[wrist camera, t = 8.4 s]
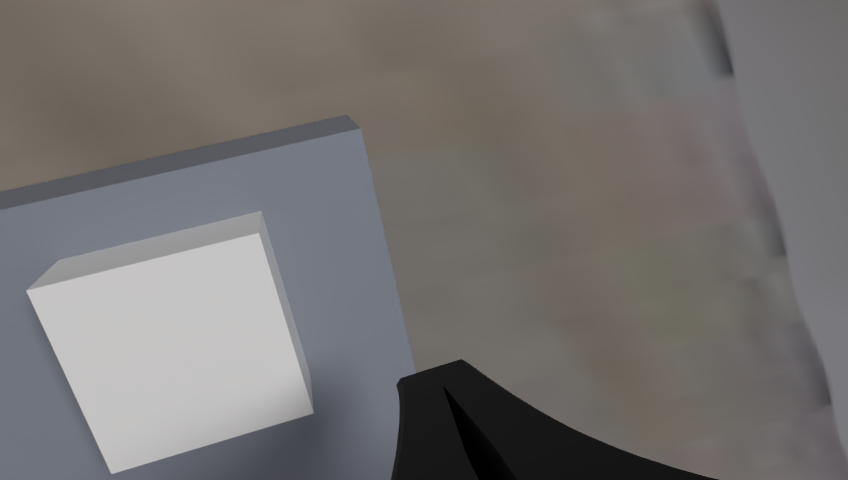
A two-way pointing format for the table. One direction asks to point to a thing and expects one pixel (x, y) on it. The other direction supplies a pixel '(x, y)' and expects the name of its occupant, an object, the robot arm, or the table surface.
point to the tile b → (176, 340)
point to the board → (301, 275)
